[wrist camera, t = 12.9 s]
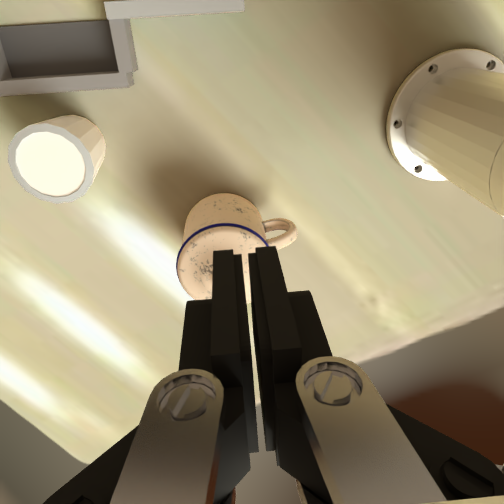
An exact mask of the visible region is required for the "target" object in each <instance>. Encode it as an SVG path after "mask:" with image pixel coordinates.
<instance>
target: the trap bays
mask: <svg viewBox="0 0 504 504" xmlns="http://www.w3.org/2000/svg"><path fill="white" fill-rule="evenodd" d="M136 70H138V65H137V60H136V54H135V48H134V42H133V37H132V31H131V25H130V20H129V19H109V20H103V21H87V22H70V23H54V24H38V25H22V26H6V27H0V96H13V95H28V94H43V93H57V92H72V91H87V90H102V89H116V88H129V87H131V86H132V85H133V84H134V80H133V75H132V72H135V71H136Z"/></svg>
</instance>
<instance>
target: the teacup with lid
mask: <svg viewBox="0 0 504 504" xmlns="http://www.w3.org/2000/svg"><path fill="white" fill-rule="evenodd" d="M274 230H286V232H285V233H284V234H282V235H280V236H277V237H274V238H271V239H268V240H267V239H266V235H265V233H266V232H270V231H274ZM296 237H297V229H296V226H295V224H294V223H293V222H292V221H290V220H287V219H282V218H276V219H270V220H266V221H262V218H261V215H260V213H259V212H258V210H257V209H256V207H255V206H254V205H253V204H252V203H251V202H249V201H248V200H246V199H245V198H243V197H241V196H238V195H235V194H229V193H219V194H214V195H210V196H208V197H206V198H204V199H202V200H200V201H199V202H198V203H197V204H196V205H195V206H194V207H193V208H192V209H191V211H190V212H189V214H188V217H187V219H186V224H185V230H184V236H183V242H182V247H181V248H180V251H179V253H178V256H177V262H176V269H177V275H178V278H179V281H180V283H181V285H182V286H183V288H184V289H185V291H186V292H187V293H188V294H189V295H190V296H191V297H192V298H193V299H195V300H203V299H212V272H213V251H218V250H230V249H233V252H234V254H242V263H243V273H244V283H245V293H246V304H248V303H250V302H251V292H250V278H249V263H248V253H255V247H266V246H276V249H277V250H278V249H281V248H283V247H286V246H288V245H289V244H291V243H292V242H293V241H294V240H295V239H296Z"/></svg>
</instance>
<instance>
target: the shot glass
mask: <svg viewBox="0 0 504 504" xmlns="http://www.w3.org/2000/svg"><path fill="white" fill-rule="evenodd" d="M105 152H106V144H105V140H104V137H103V135H102V133H101V132H100V130H99V129H98V127H97V126H96V125H95V124H93V123H92V122H91V121H89V120H88V119H86V118H84V117H80V116H77V115H65V116H60V117H56V118H53V119H49V120H45V121H42V122H38V123H35V124H31V125H28V126H27V127H25V128H24V129H22V130H20V131H19V132H17V133H16V134H15V136H14V137H13V139H12V141H11V143H10V144H9V146H8V163H9V166H10V169H11V171H12V174H13V176H14V178H15V179H16V180H17V182H18V183H19V184H20V185H21V186H22V187H23V188H24V190H25V191H27V192H28V193H30V194H32V195H33V196H35V197H37V198H38V199H40V200H43V201H47V202H52V203H56V204H58V203H67V202H73V201H75V200H76V199H78V198H80V197H82V196H83V195H85V193H86V192H87V190H88V189H89V187H90V186H91V185H92V183H93V181H94V179H95V177H96V175H97V172H98V170H99V168H100V166H101V164H102V162H103V160H104V158H105Z"/></svg>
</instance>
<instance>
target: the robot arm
mask: <svg viewBox="0 0 504 504" xmlns="http://www.w3.org/2000/svg"><path fill="white" fill-rule="evenodd" d="M487 63H488V65H487ZM486 65H487V66H486ZM430 66H431V70H430V71H428V69H429V67H430ZM395 121H397V122H396V124H394V122H395ZM393 124H394V125H393ZM386 134H387V141H388V145H389V149H390V151H391V153H392V155H393V157H394V159H395V160H396V161H397V162H398V164H399V165H400V166H401V167H402V168H404V169H405V170H406V171H407V172H409V173H410V174H412V175H413V176H415V177H418V178H421V179H424V180H431V181H442V180H449V181H450V182H452V183H453V184H455V185H456V186H458V187H459V188H461V189H462V190H464V191H465V192H466V193H468V194H469V195H471V196H472V197H474V198H475V199H477V200H478V201H480V202H481V203H483V204H484V205H486V206H487V207H488V208H490V209H491V210H493V211H494V212H496V213H497V214H499V215H500V216H502V217H504V63H503V62H502V61H501V60H500V59H499V58H497V57H495V56H494V55H492V54H490V53H489V52H485V51H482V50H478V49H469V48H463V49H452V50H449V51H445V52H442V53H439V54H437V55H435V56H433V57H431V58H429V59H428V60H426V61H425V62H423V63H422V64H421V65H419V66H418V67H417V68H416V69H415V70H414V71H413V72H412V73H411V74H410V75H409V76H408V77H407V78H406V79H405V80H404V82H403V83H402V84H401V86H400V87H399V89H398V90H397V92H396V94H395V96H394V98H393V100H392V103H391V106H390V109H389V112H388V117H387V124H386ZM416 166H417V167H416ZM415 167H416V168H415ZM248 263H249V278H250V292H251V307H252V321H253V335H254V346H255V355H256V364H257V373H258V382H259V391H260V400H261V408H262V417H263V426H264V435H265V444H266V451H274V450H275V452H276V459H277V466H278V465H279V466H280V467H281V468H282V469H283V470H285V471H286V472H287V473H289V474H290V475H291V476H293V477H294V478H295V479H296V484H297V490H298V493H299V496H300V499H301V502H302V504H504V465H503V466H500V465H495V464H494V463H493V462H492V461H490V460H489V459H487V458H485V457H484V456H482V455H481V454H480V453H478V452H476V451H474V450H472V449H470V448H469V447H466V446H465V445H463V444H461V443H459V442H457V441H455V440H453V439H452V438H450V437H448V436H446V435H444V434H442V433H440V432H438V431H437V430H435V429H433V428H431V427H429V426H427V425H425V424H423V423H421V422H419V421H418V420H416V419H414V418H412V417H410V416H408V415H406V414H404V413H403V412H401V411H399V410H397V409H395V408H393V407H391V406H389V405H387V404H386V403H385V402H384V401H383V399H382V397H381V396H380V394H379V393H378V391H377V390H376V388H375V386H374V385H373V383H372V382H371V380H370V378H369V377H368V375H367V374H366V373H365V372H364V371H363V370H362V369H361V367H359V366H358V365H356V364H355V363H353V362H352V361H349V360H346V359H344V358H340V357H333V356H332V353H331V350H330V347H329V344H328V341H327V338H326V336H325V333H324V330H323V327H322V324H321V321H320V318H319V315H318V312H317V309H316V306H315V303H314V301H313V298H312V295H311V293H310V291H309V290H308V291H296V292H287V288H286V284H285V280H284V276H283V272H282V269H281V265H280V261H279V257H278V253H277V249H276V246H266V247H255V253H248ZM254 452H259V449H258V435H257V422H256V409H255V395H254V381H253V368H252V355H251V344H250V334H249V324H248V314H247V304H246V293H245V283H244V273H243V263H242V254H234V252H233V249H230V250H218V251H213V272H212V299H203V300H192V301H187V303H186V310H185V319H184V327H183V336H182V345H181V353H180V362H179V371H177V372H174V373H172V374H170V375H168V376H167V377H165V378H163V379H162V380H161V381H160V382H159V383H158V384H157V385H156V386H155V387H154V389H153V391H152V392H151V394H150V396H149V399H148V402H147V404H146V407H145V410H144V413H143V415H142V418H141V421H140V423H139V425H138V426H137V427H136V428H134V429H133V430H132V431H131V432H129V433H128V434H127V435H126V436H124V437H123V438H122V439H121V440H120V441H118V442H117V443H116V444H115V445H113V446H112V447H111V448H110V449H108V450H107V451H106V452H105V453H103V454H102V455H101V456H100V457H98V458H97V459H96V460H95V461H94V462H92V463H91V464H90V465H89V466H88V467H86V468H85V469H84V470H82V471H81V472H80V473H79V474H78V475H76V476H75V477H74V478H72V479H71V480H70V481H69V482H68V483H66V484H65V485H64V486H63V487H61V488H60V489H59V490H58V491H56V492H55V493H54V494H53V495H52V496H50V497H49V498H48V499H47V500H46V501H45V502H44V503H43V504H235V501H236V485H237V484H238V483H239V482H240V480H241V479H242V478H243V477H244V476H245V475H246V474H247V472H249V470H250V457H249V453H254Z"/></svg>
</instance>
